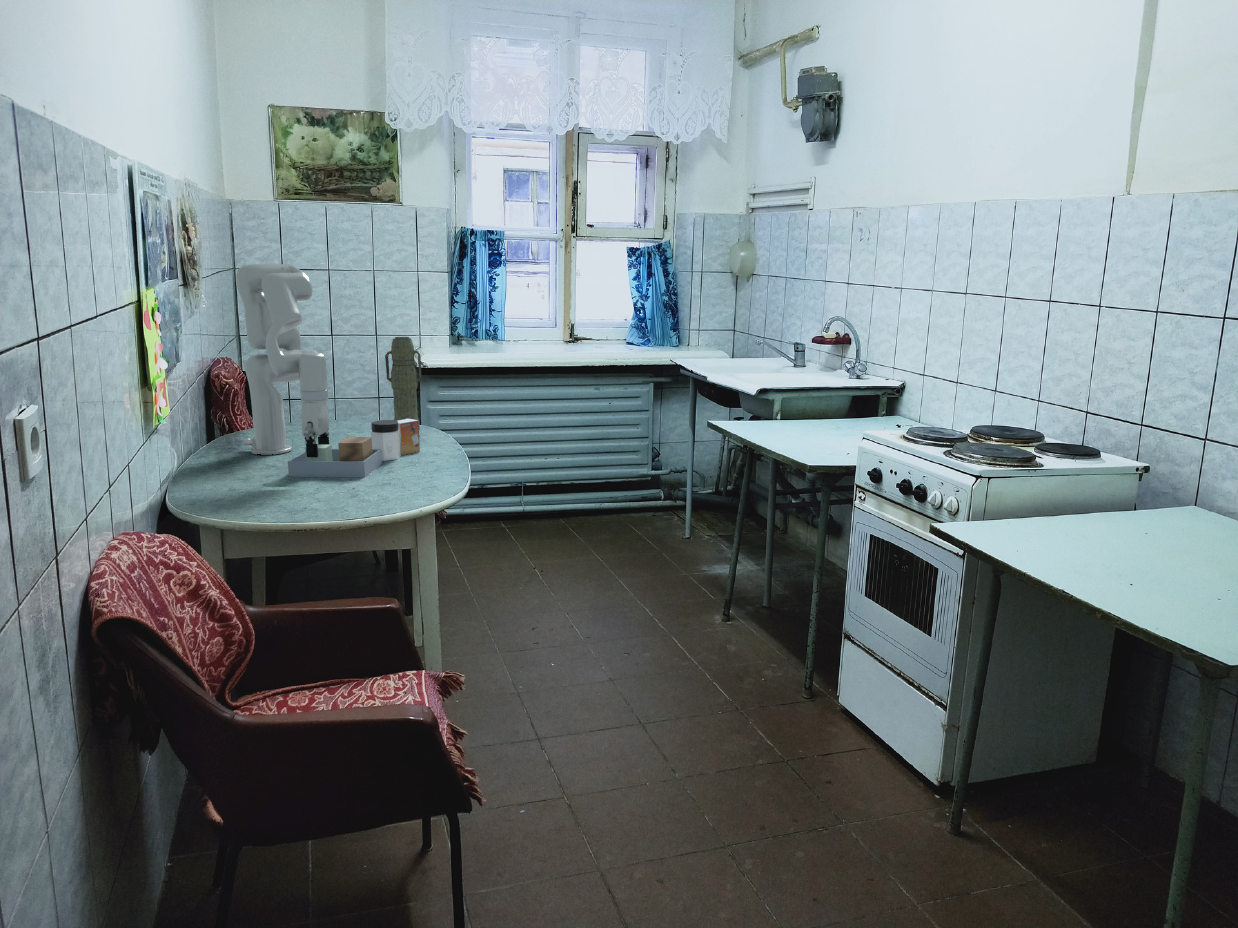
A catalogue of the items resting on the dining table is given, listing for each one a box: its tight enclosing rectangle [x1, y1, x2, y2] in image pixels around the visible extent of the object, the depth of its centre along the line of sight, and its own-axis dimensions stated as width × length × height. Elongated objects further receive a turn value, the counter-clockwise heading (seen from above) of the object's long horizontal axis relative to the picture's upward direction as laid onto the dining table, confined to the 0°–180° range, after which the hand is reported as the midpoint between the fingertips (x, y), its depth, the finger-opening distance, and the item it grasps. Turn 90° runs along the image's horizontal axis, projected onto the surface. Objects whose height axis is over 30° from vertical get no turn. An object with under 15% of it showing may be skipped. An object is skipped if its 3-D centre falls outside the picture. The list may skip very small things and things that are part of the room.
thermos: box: [384, 336, 422, 438], centre depth 315 cm, size 9×12×35 cm
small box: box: [398, 419, 421, 456], centre depth 293 cm, size 8×6×10 cm
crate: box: [287, 448, 383, 478], centre depth 267 cm, size 22×17×5 cm
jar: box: [370, 419, 402, 462], centre depth 282 cm, size 9×8×12 cm
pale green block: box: [304, 443, 333, 461], centre depth 267 cm, size 6×5×7 cm
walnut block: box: [337, 436, 373, 461], centre depth 266 cm, size 7×9×9 cm
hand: (318, 453), depth 267 cm, fingers open, 9 cm apart
